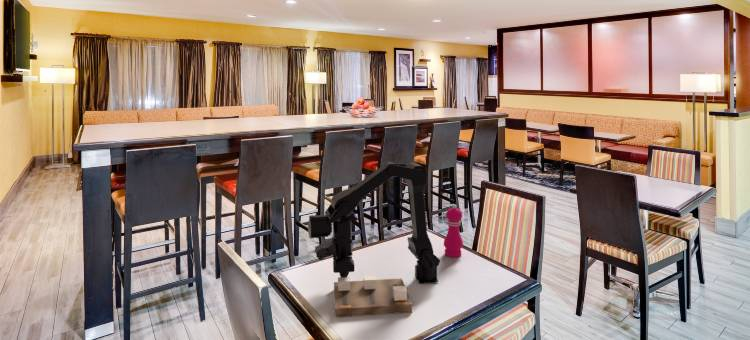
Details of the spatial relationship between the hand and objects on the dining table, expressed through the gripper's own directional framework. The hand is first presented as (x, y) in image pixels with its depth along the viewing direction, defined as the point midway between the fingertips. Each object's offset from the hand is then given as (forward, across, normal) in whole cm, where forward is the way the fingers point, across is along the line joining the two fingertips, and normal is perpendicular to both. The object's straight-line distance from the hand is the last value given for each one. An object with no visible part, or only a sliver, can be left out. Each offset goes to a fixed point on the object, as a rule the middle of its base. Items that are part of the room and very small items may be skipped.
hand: (343, 281), depth 138 cm
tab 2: (0, +4, +8) cm, 9 cm away
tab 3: (0, +12, +16) cm, 20 cm away
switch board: (+3, +7, +8) cm, 11 cm away
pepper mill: (+4, -25, +43) cm, 50 cm away
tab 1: (0, +4, 0) cm, 4 cm away
